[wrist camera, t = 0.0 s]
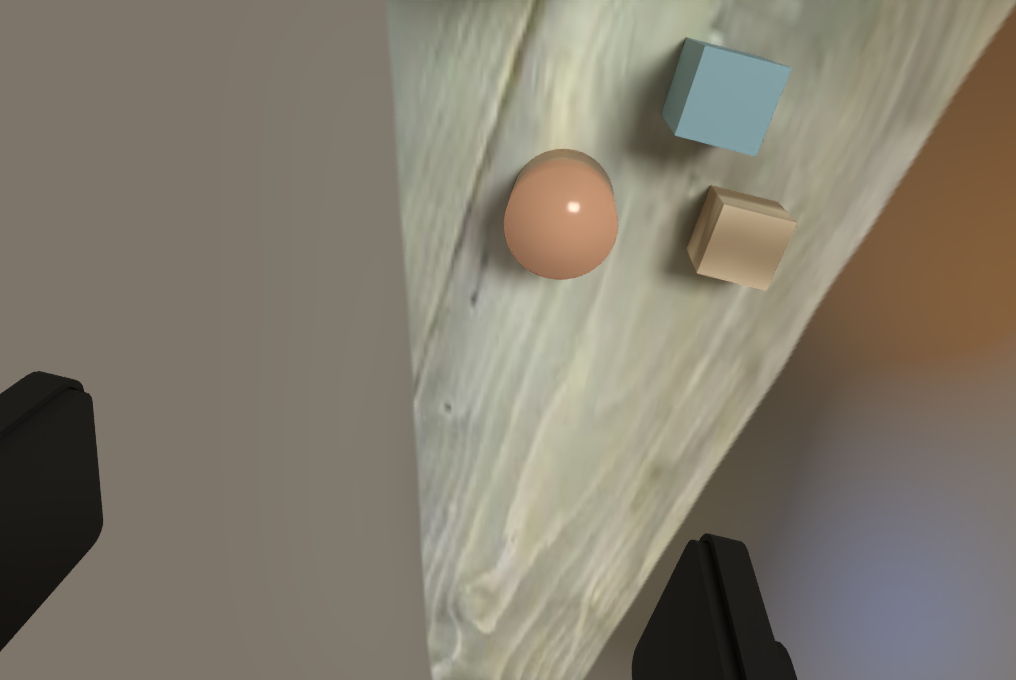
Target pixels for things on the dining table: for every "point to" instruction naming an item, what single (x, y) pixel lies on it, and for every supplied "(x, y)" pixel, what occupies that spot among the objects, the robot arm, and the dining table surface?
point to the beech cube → (740, 237)
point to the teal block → (723, 96)
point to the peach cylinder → (561, 215)
